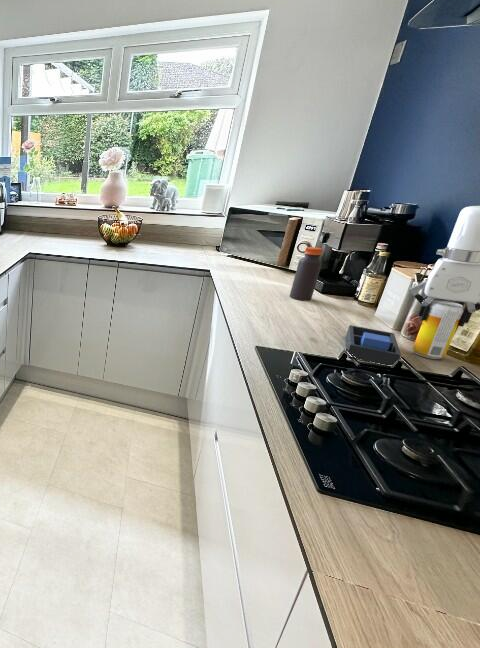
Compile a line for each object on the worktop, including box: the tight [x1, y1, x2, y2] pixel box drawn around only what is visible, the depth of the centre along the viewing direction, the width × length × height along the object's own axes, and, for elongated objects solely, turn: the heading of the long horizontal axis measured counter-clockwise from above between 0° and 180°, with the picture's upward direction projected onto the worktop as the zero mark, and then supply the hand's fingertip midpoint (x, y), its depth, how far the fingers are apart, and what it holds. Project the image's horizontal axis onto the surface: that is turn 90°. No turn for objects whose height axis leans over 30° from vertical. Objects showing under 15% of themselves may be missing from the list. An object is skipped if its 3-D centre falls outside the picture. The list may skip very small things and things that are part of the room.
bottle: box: [289, 246, 323, 301], centre depth 154 cm, size 7×7×20 cm
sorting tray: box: [345, 324, 401, 366], centre depth 112 cm, size 10×18×4 cm, turn 138°
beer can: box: [412, 300, 464, 360], centre depth 107 cm, size 6×6×15 cm
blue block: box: [359, 332, 391, 351], centre depth 109 cm, size 5×5×5 cm
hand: (440, 321), depth 107 cm, fingers closed on beer can, 6 cm apart
